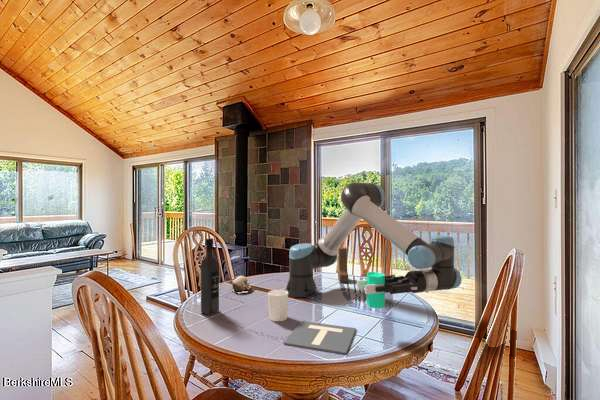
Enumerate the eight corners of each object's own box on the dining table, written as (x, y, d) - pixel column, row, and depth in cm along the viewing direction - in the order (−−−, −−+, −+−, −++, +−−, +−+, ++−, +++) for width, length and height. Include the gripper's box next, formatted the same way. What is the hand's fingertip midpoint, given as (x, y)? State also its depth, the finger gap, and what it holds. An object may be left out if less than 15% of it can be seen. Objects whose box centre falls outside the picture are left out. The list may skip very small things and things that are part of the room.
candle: (364, 302, 106) (364, 267, 106) (381, 301, 107) (381, 267, 107) (369, 308, 100) (369, 271, 100) (387, 308, 101) (387, 271, 101)
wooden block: (348, 283, 167) (348, 250, 167) (340, 283, 167) (339, 250, 167) (346, 278, 176) (346, 247, 176) (338, 278, 176) (338, 247, 176)
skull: (242, 283, 164) (251, 271, 159) (251, 299, 159) (261, 287, 154) (223, 287, 155) (232, 275, 150) (232, 305, 150) (241, 292, 145)
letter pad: (283, 344, 97) (283, 342, 97) (301, 322, 114) (301, 320, 114) (346, 354, 91) (346, 352, 91) (355, 329, 108) (355, 327, 108)
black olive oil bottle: (220, 311, 127) (219, 238, 126) (210, 315, 122) (209, 240, 121) (210, 308, 129) (209, 237, 129) (199, 313, 124) (199, 239, 124)
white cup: (272, 324, 113) (272, 296, 113) (265, 316, 120) (264, 291, 120) (292, 319, 117) (291, 293, 117) (283, 313, 124) (283, 288, 124)
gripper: (438, 299, 100) (375, 307, 93) (404, 284, 117) (349, 290, 110) (438, 276, 100) (375, 283, 93) (404, 265, 117) (349, 269, 110)
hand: (361, 287), depth 102 cm, fingers closed on candle, 5 cm apart
